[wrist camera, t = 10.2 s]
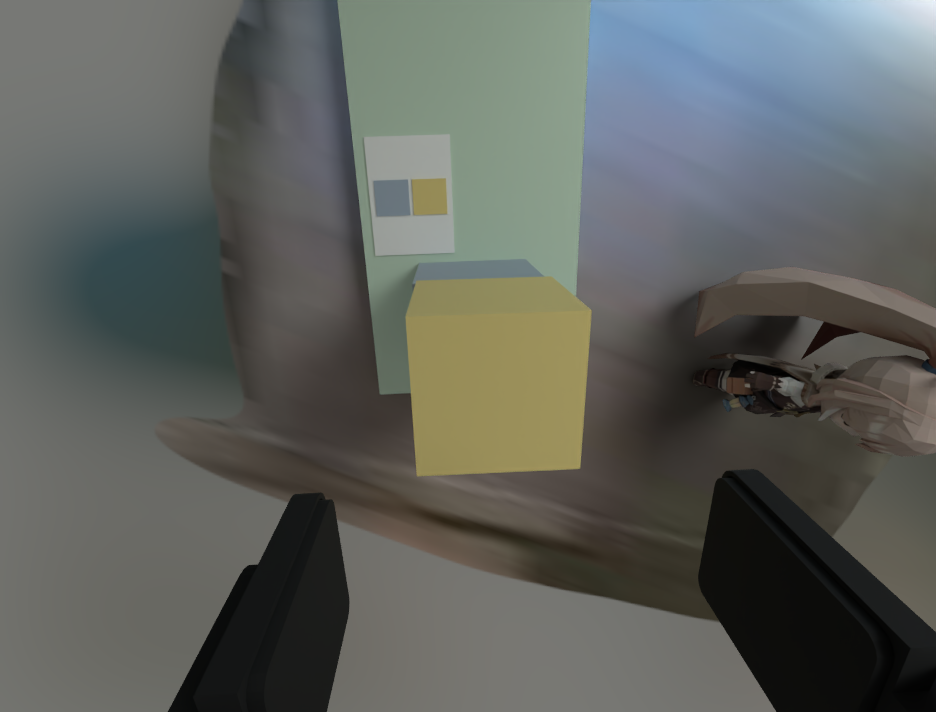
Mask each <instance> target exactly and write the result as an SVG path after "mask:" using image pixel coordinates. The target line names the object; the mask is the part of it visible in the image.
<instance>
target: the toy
mask: <svg viewBox="0 0 936 712" xmlns="http://www.w3.org/2000/svg"><path fill="white" fill-rule="evenodd" d="M735 315H766V316H806V317H810V318H813V319H817V320H820V321H824V323H823V324H822V326H821V328H820V329H819V331H818V332H817V334H816V336H815V337H814V339H813V341H812V342H811V344H810V346H809V347H808V349H807V351H806V352H805V354H804V356H803V357H802V359H803V358H805V357H806V356H808V355H809V354H811V353H812V352H814V351H815V350H817V349H819V348H820V347H822V346H823V345H825V344H826V343H828V342H829V341H831V340H833V339H834V338H836V337H839V336H844V335H849V334H854V333H859V332H863V333H866V334H870V335H873V336H876V337H880V338H883V339H886V340H889V341H893V342H896V343H899V344H903V345H906V346H909V347H913V348H916V349H919V350H922V351H924V352H925V353H926V354H927V356H928V357H929V358H930V359H927V360H926V361H924V360H922V359H918V358H914V357H911V356H907V355H904V356H888V357H872V358H868V359H863V360H860V361H858V362H856V363H854V364H852V365H851V366H850V367H849V368H847V367H846V366H843V365H841V364H838V363H827V364H826V365H824V366H822V367H821V366H818V365H816V364H814V365H815V368H816V371H815V370H812V369H809V368H807V367H804V366H799V365H796V364H792V363H789V362H785V361H782V360H778V359H774V358H769V357H764V356H753V355H752V356H751V355H743V354H731V353H725V354H720V355H714V356H710V357H709V358H708V359H718V358H730V359H737V360H738V361H737V362H735V363H734V364H733V366H732V369H729V370H726V369H714V368H712V369H708V370H702V371H696V372H695V373H694V374H695V375H694V378H693V384H695V385H697V386H707V387H709V388H715V389H718V390H721V391H724V392H726V393H729V394H731V395H733V396H735V397H736V398H735V399H733V400H731V401H728V400H727V399H724V400H723V405H724V407H725V409H726V411H727V412H729V411H730V410H731V408H737V407H744V408H745V409H746V410H747V411H750V412H752V413H755V414H764V413H774V414H773V415H771V416H770V417H781V416H783V415H785V414H789V415H794V416H795V417H800V416H801V415H803V414H807V413H815V412H821V415H820V417H819V419H818V420H820V421H822V420H824V419H825V418H827V417H828V416H829V417H830V419H831V420H832V421H833V422H834V423H836V424H837V425H839V426H840V427H841V428H843V429H844V430H845V431H847V432H848V433H850V434H851V435H852V436H857V435H860V436H861V437H862V439H860V441H862V442H863V443H862V444H856V445H858V446H860V447H862V448H864V449H866V450H868V451H870V452H878V453H886V454H892V455H898V456H917V455H925V454H932V453H935V452H936V309H935V308H933V307H931V306H929V305H927V304H925V303H923V302H921V301H919V300H917V299H915V298H913V297H911V296H909V295H907V294H905V293H903V292H900V291H898V290H896V289H893V288H889V287H885V286H882V285H878V284H875V283H870V282H866V281H862V280H858V279H854V278H848V277H843V276H838V275H833V274H827V273H822V272H817V271H811V270H806V269H801V268H795V267H786V268H777V269H768V270H758V271H749V272H742V273H740V274H738V275H736V276H735V277H733V278H731V279H729V280H727V281H725V282H722V283H720V284H717V285H714V286H712V287H709V288H707V289H704V290H702V291H699V301H698V310H697V319H696V328H695V337H696V336H698V335H700V334H702V333H703V332H705V331H707V330H709V329H711V328H713V327H715V326H716V325H718V324H720V323H722V322H724V321H726V320H728V319H729V318H731V317H733V316H735Z"/></svg>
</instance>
